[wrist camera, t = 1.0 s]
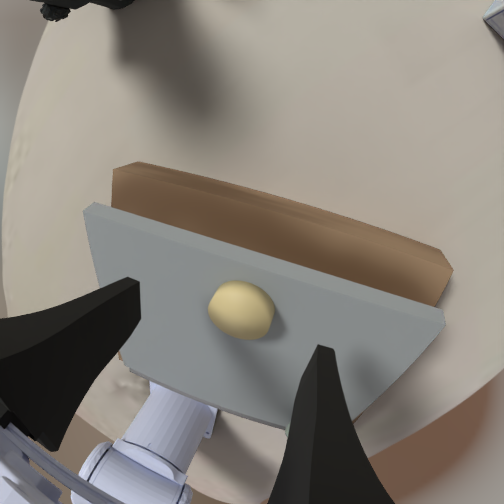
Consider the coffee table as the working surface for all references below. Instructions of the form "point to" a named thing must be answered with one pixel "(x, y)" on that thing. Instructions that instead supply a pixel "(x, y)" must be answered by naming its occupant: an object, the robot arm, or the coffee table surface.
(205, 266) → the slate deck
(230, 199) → the walnut base
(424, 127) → the coffee table surface
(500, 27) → the medicine box
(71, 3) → the scope
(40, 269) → the coffee table surface
